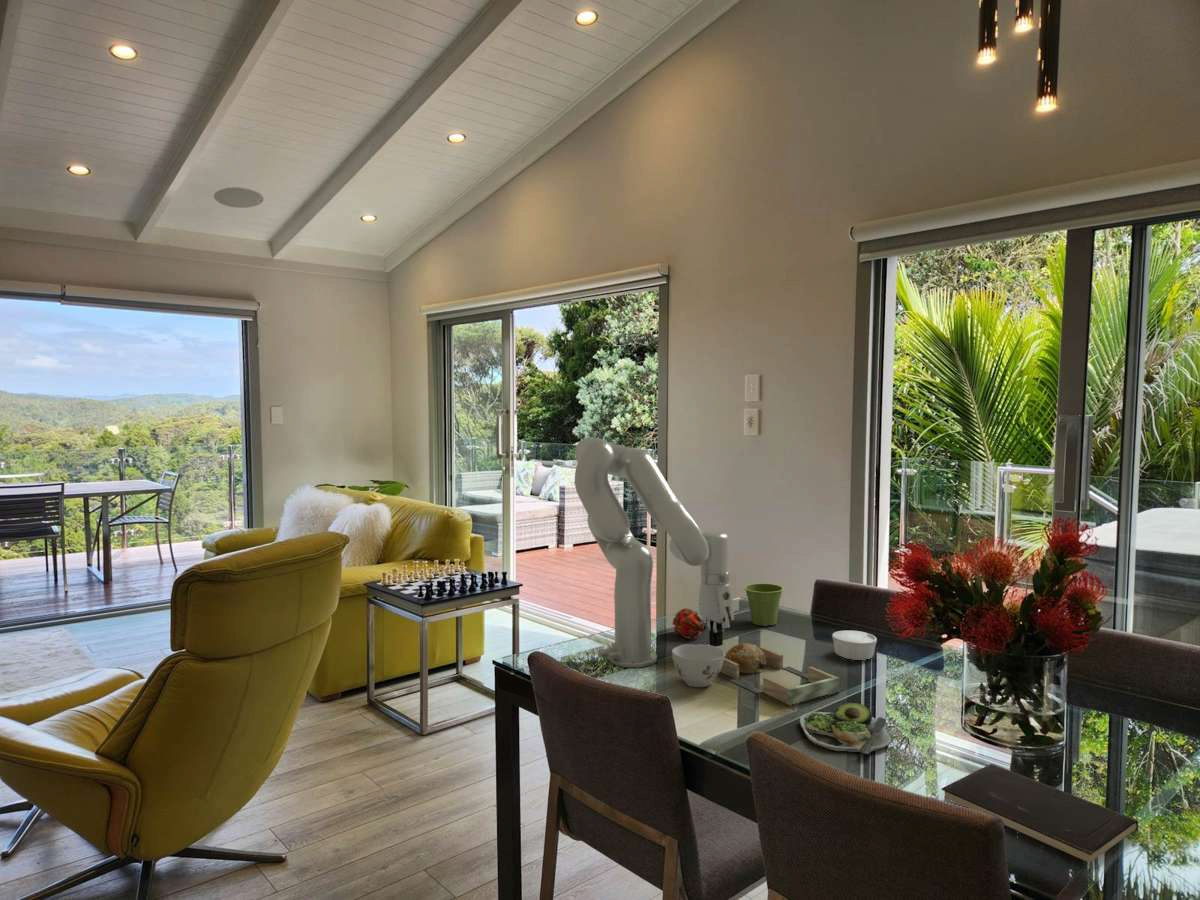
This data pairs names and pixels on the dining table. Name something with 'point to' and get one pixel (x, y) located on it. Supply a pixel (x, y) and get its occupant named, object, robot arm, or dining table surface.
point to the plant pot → (764, 602)
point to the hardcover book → (1042, 811)
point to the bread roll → (747, 658)
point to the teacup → (698, 663)
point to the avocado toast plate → (848, 727)
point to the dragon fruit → (688, 623)
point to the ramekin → (854, 644)
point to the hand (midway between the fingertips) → (716, 645)
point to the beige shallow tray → (817, 687)
